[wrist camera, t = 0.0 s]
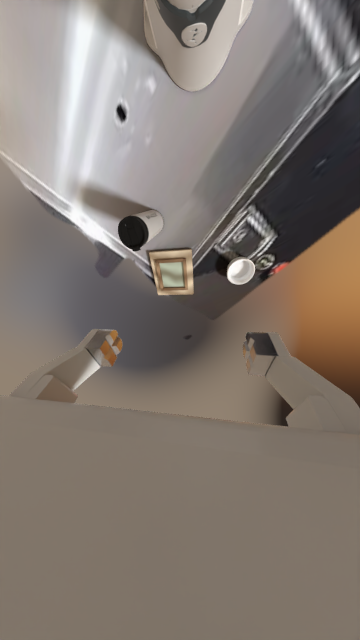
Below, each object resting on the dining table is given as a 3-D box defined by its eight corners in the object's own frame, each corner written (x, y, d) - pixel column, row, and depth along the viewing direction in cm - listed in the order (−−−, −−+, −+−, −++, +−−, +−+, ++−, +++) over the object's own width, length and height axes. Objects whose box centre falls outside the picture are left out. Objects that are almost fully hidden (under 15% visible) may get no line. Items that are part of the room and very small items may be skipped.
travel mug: (149, 236, 49) (124, 254, 34) (141, 212, 45) (110, 220, 30) (166, 232, 48) (149, 248, 33) (160, 207, 44) (137, 213, 29)
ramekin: (228, 254, 50) (229, 258, 47) (255, 254, 49) (258, 259, 46) (223, 279, 56) (225, 284, 53) (248, 279, 55) (250, 284, 52)
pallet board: (150, 251, 53) (148, 253, 51) (191, 248, 50) (191, 250, 48) (159, 293, 63) (157, 296, 61) (193, 292, 61) (193, 295, 59)
